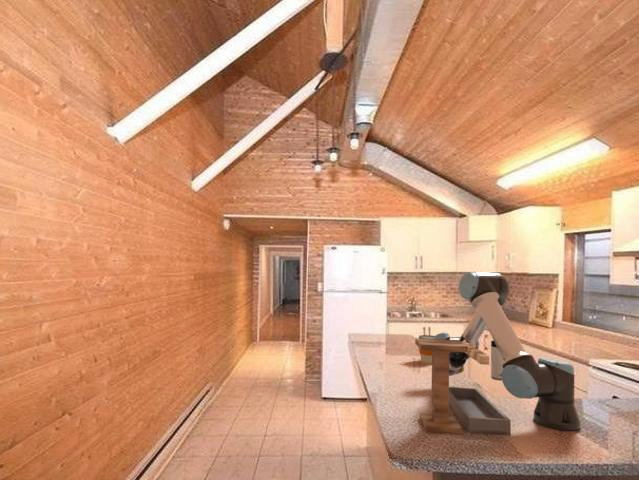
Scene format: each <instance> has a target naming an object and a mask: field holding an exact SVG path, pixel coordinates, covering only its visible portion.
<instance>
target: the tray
mask: <svg viewBox="0 0 639 480" xmlns="http://www.w3.org/2000/svg"><path fill="white" fill-rule="evenodd" d="M449 408H450V409H451V410H452V411H453V413H454V415H456V417H457V418H458V419H459V421H460V422H461V424H462V425H463V427H464V428H465V430H467V432H468V433H469V434H482V435H483V434H484V435H485V434H486V435H506V436H511V431H512V430H511V419H510V418H509V417H508V416H507V415H506V414H504V412H503V411H502V410H501V409H499V408H498V407H497V405H495V404H494V403H493V402H492V401H491V400H490V399H489V398H488V397H487V396H485V395H484V394H483V393H482V392H481V391H480V390H479V389H478V388H473V387H451V386H449Z"/></svg>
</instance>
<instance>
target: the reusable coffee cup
mask: <svg viewBox="0 0 639 480" xmlns="http://www.w3.org/2000/svg"><path fill="white" fill-rule="evenodd" d="M434 337H435V335H431V334H423V335H422V334H420V335H418V338H419V339H434ZM418 351H419V353H418V354H420V362H421V363H422V364H427V365H432V351H421V350H420V348H419V347H418Z"/></svg>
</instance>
